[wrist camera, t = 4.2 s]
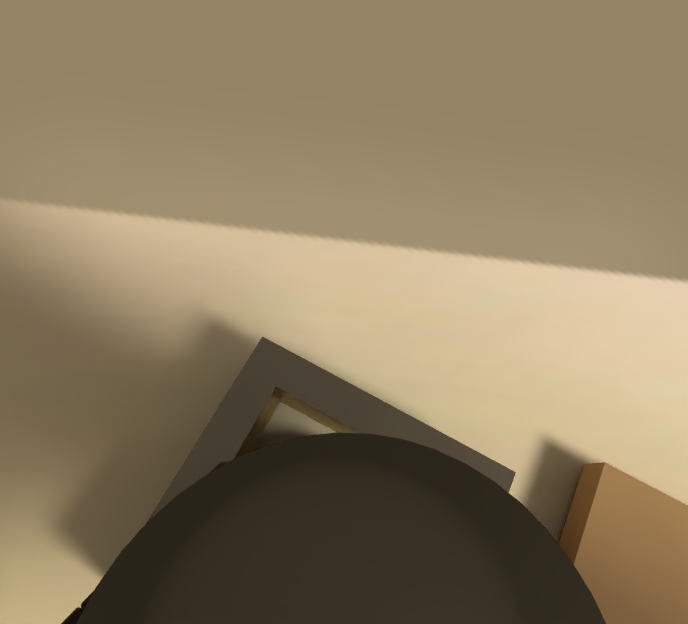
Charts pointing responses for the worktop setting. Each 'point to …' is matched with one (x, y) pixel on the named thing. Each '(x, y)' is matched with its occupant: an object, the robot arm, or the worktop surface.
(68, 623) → the robot arm
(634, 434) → the worktop surface
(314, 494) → the capped metal cylinder
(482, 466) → the holder
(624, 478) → the walnut pad
